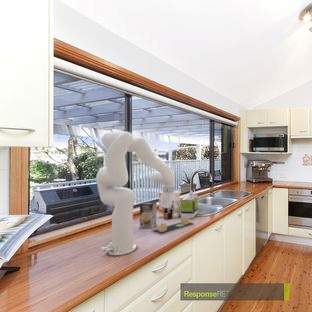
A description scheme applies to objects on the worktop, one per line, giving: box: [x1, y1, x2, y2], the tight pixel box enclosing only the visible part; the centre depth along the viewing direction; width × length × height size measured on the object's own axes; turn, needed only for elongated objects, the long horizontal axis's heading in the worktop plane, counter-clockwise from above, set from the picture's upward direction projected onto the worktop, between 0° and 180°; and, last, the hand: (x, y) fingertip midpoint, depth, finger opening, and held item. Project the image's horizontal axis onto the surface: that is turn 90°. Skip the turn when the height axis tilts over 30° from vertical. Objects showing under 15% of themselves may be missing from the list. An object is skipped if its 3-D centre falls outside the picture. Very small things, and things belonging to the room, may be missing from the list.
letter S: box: [163, 212, 172, 221], centre depth 142 cm, size 4×4×4 cm
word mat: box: [152, 217, 194, 235], centre depth 146 cm, size 26×10×4 cm, turn 142°
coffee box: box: [139, 201, 158, 229], centre depth 147 cm, size 9×6×16 cm
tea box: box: [180, 195, 199, 219], centre depth 175 cm, size 15×10×15 cm
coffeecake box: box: [158, 191, 181, 218], centre depth 173 cm, size 15×7×20 cm, turn 88°
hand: (168, 217), depth 142 cm, fingers closed on letter S, 4 cm apart
